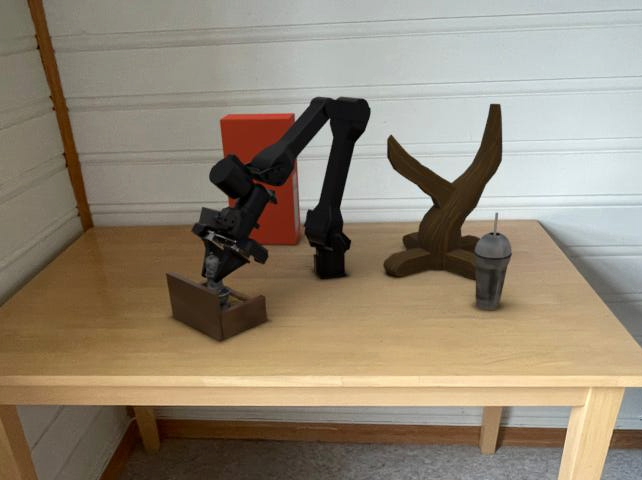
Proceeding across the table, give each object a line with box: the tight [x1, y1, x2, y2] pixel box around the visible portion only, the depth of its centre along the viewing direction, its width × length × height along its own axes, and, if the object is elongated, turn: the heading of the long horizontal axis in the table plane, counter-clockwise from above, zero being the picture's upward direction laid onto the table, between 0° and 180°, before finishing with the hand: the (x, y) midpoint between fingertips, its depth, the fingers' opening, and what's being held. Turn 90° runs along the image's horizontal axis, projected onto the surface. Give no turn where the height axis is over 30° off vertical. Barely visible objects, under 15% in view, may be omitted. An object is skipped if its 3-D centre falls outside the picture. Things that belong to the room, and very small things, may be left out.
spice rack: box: [165, 270, 268, 343], centre depth 130 cm, size 12×16×10 cm
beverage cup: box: [474, 211, 513, 311], centre depth 127 cm, size 7×7×20 cm
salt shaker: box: [205, 252, 232, 311], centre depth 128 cm, size 6×6×12 cm
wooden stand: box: [382, 103, 503, 280], centre depth 145 cm, size 29×29×35 cm
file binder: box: [219, 112, 302, 246], centre depth 166 cm, size 8×17×32 cm, turn 80°
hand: (208, 279), depth 127 cm, fingers closed on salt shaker, 3 cm apart
